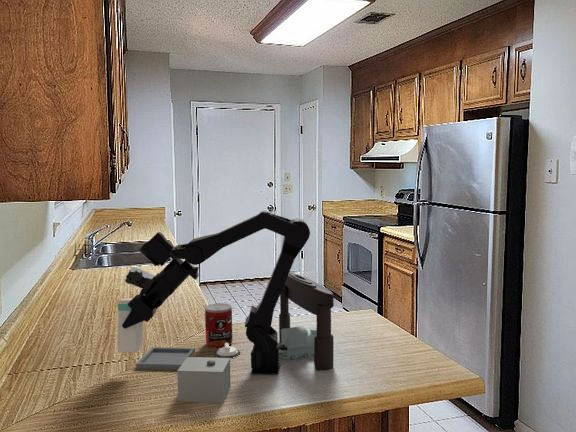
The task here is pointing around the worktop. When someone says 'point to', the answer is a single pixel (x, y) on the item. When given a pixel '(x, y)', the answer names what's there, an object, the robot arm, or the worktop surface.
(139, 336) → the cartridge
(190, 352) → the tray
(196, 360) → the unit
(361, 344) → the worktop surface
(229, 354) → the stove knob
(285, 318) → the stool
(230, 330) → the canned food
